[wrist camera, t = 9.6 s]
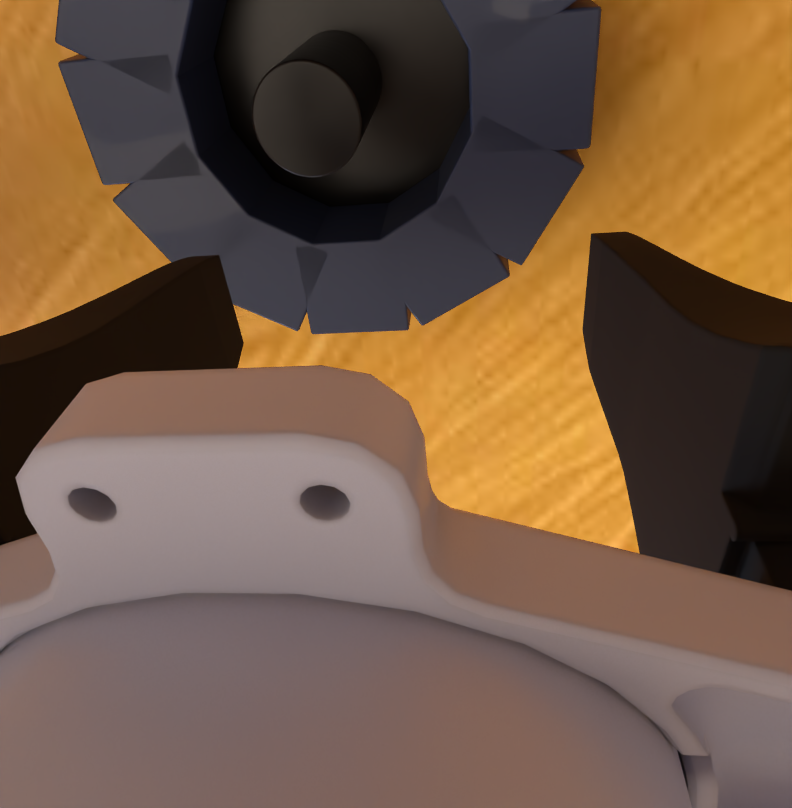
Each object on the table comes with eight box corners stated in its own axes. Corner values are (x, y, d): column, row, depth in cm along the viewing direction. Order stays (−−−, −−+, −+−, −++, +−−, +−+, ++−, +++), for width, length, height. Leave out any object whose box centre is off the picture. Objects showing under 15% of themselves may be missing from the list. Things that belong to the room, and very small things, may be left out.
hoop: (315, 349, 24) (299, 397, 22) (18, 16, 18) (-50, 32, 16) (657, 143, 19) (685, 177, 16) (394, -428, 13) (378, -505, 10)
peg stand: (322, 264, 23) (287, 348, 19) (133, 29, 19) (31, 65, 15) (547, 116, 20) (572, 176, 15) (375, -213, 16) (337, -264, 11)
